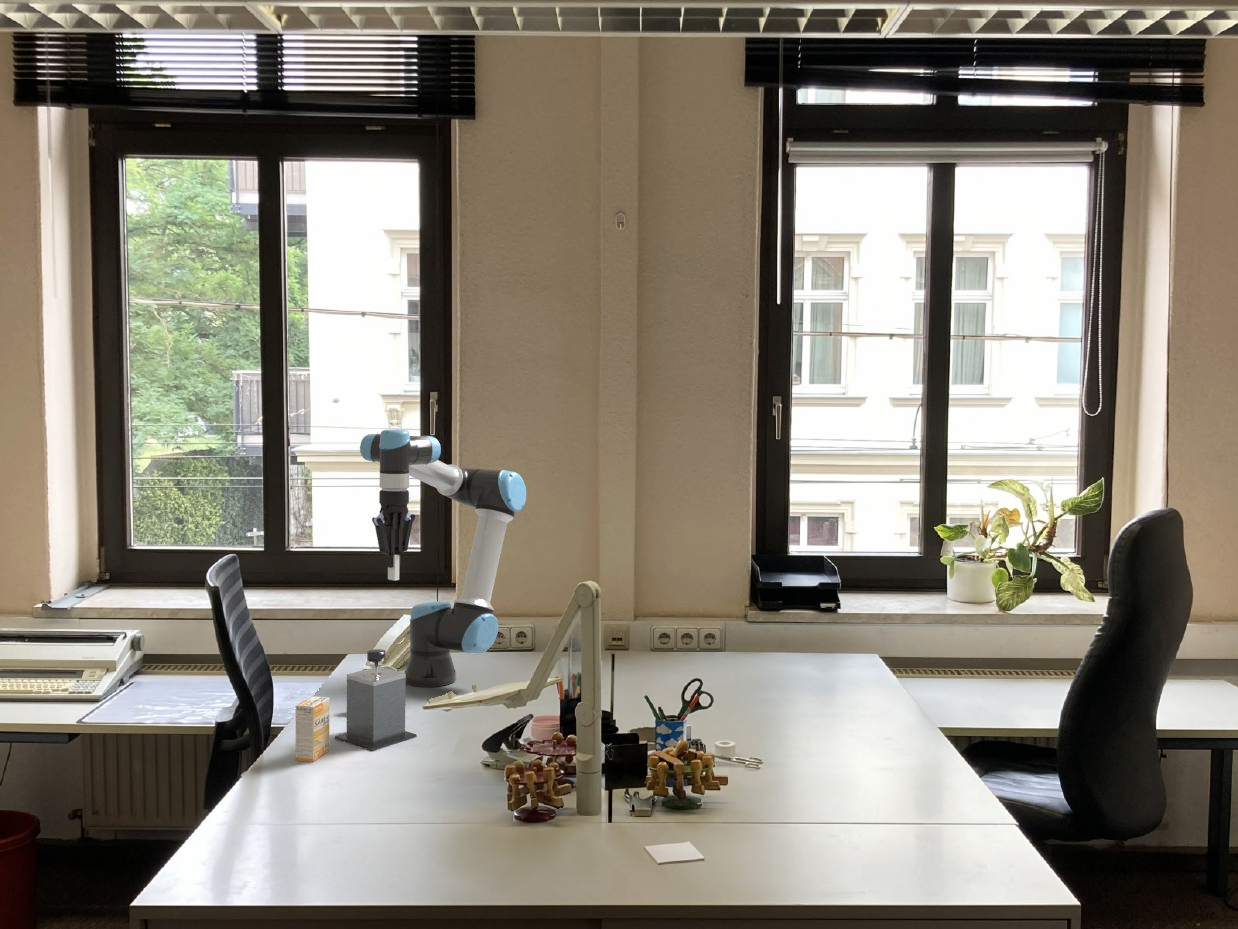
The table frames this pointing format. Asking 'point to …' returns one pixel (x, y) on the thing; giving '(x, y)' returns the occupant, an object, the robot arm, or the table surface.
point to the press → (375, 709)
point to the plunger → (376, 658)
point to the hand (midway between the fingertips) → (393, 579)
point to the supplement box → (312, 728)
